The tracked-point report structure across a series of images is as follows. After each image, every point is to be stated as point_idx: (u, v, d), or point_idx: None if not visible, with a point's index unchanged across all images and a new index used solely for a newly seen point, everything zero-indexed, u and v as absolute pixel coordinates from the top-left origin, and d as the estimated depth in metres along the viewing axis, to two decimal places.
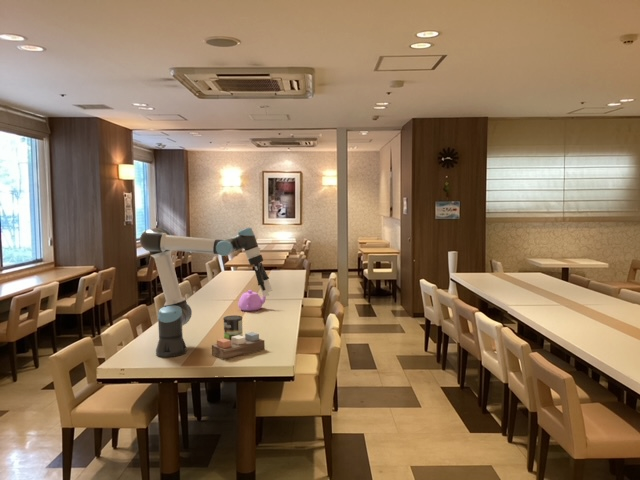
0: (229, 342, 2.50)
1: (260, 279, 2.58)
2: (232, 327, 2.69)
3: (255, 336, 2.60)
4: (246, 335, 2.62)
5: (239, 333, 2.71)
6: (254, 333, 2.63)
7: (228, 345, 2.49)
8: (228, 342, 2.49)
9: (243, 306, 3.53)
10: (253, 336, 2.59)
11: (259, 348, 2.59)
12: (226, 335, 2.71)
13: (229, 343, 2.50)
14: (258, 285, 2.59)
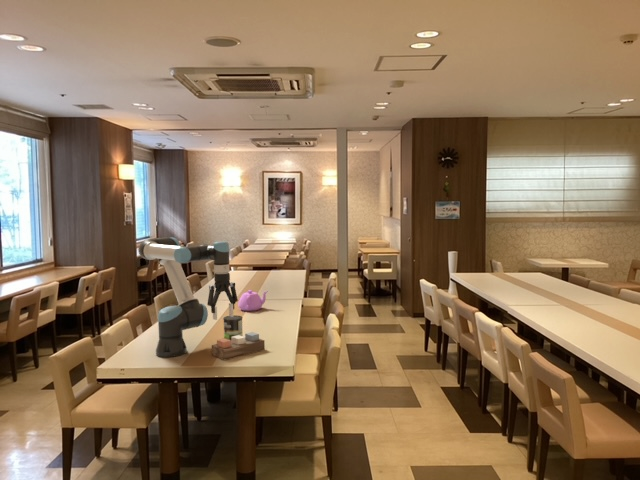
0: (229, 342, 2.50)
1: (209, 301, 2.44)
2: (232, 327, 2.69)
3: (255, 336, 2.60)
4: (246, 335, 2.62)
5: (239, 333, 2.71)
6: (254, 333, 2.63)
7: (228, 345, 2.49)
8: (228, 342, 2.49)
9: (243, 306, 3.53)
10: (253, 336, 2.59)
11: (259, 348, 2.59)
12: (226, 335, 2.71)
13: (229, 343, 2.50)
14: None
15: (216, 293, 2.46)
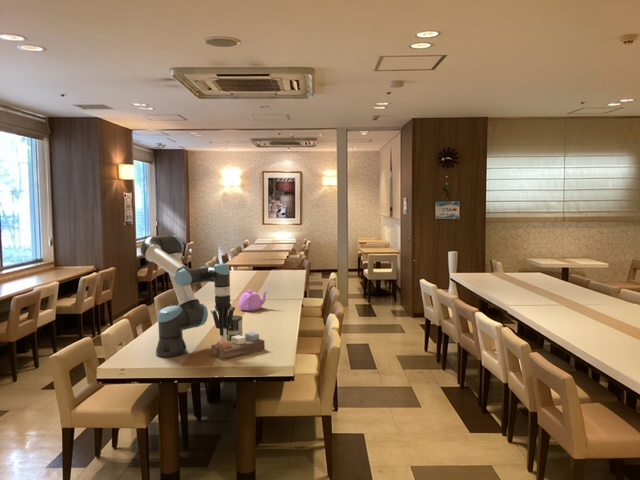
0: (229, 344, 2.50)
1: (217, 325, 2.47)
2: (232, 327, 2.69)
3: (255, 336, 2.60)
4: (246, 335, 2.62)
5: (239, 333, 2.71)
6: (254, 333, 2.63)
7: None
8: (228, 344, 2.49)
9: (243, 306, 3.53)
10: (253, 336, 2.59)
11: (259, 348, 2.59)
12: None
13: (229, 345, 2.50)
14: None
15: (220, 316, 2.48)
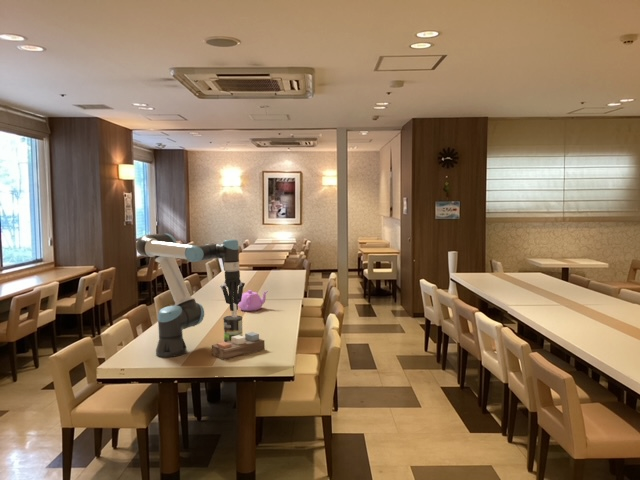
0: (229, 345, 2.50)
1: (226, 300, 2.50)
2: (232, 327, 2.69)
3: (255, 336, 2.60)
4: (246, 335, 2.62)
5: (239, 333, 2.71)
6: (254, 333, 2.63)
7: None
8: (228, 345, 2.49)
9: (243, 306, 3.53)
10: (253, 336, 2.59)
11: (259, 348, 2.59)
12: (226, 335, 2.71)
13: (229, 346, 2.50)
14: None
15: (229, 291, 2.51)
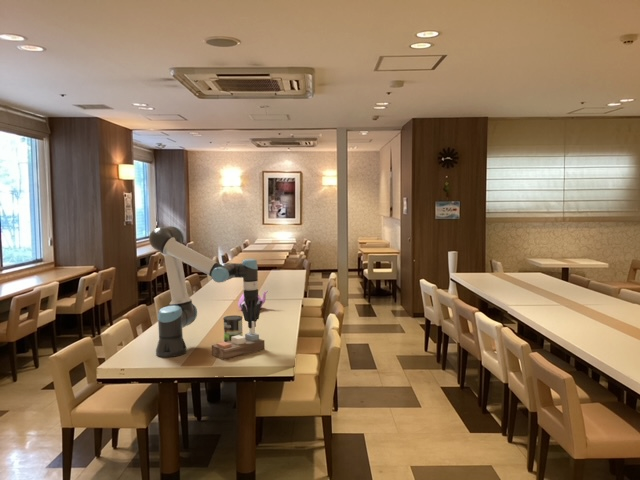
0: (229, 345, 2.50)
1: (245, 318, 2.58)
2: (232, 327, 2.69)
3: (255, 337, 2.60)
4: (246, 335, 2.62)
5: (239, 333, 2.71)
6: None
7: None
8: (228, 345, 2.49)
9: None
10: (253, 336, 2.59)
11: (259, 348, 2.59)
12: (226, 335, 2.71)
13: (229, 346, 2.50)
14: None
15: (248, 309, 2.60)
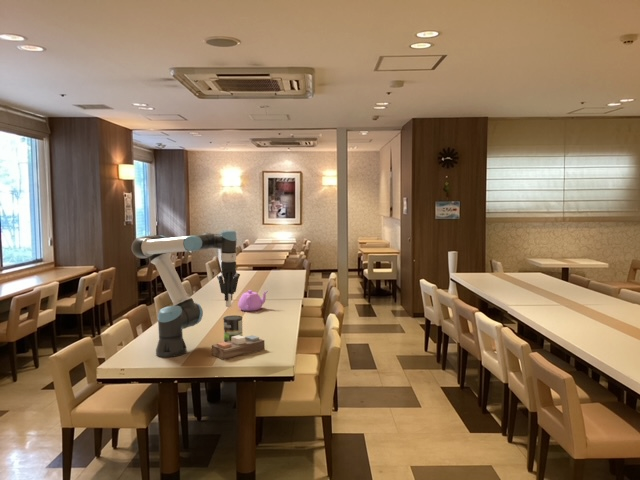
0: (229, 345, 2.50)
1: (222, 290, 2.53)
2: (232, 327, 2.69)
3: (255, 340, 2.60)
4: (246, 338, 2.62)
5: (239, 333, 2.71)
6: (254, 336, 2.63)
7: None
8: (228, 345, 2.49)
9: (243, 306, 3.53)
10: (253, 339, 2.59)
11: (259, 348, 2.59)
12: (226, 335, 2.71)
13: (229, 346, 2.50)
14: None
15: (225, 281, 2.54)
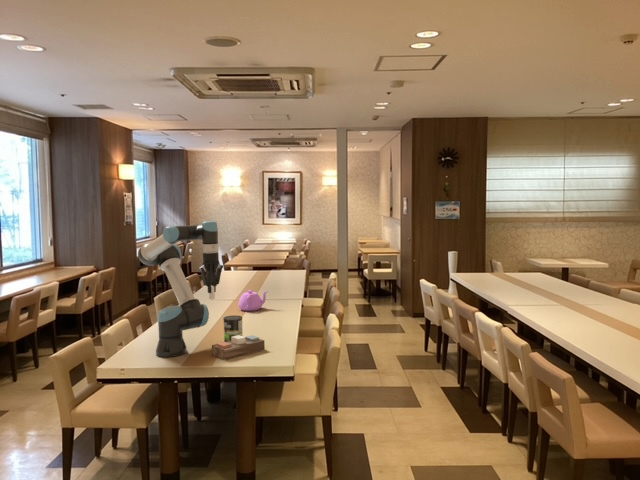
0: (229, 345, 2.50)
1: (204, 282, 2.48)
2: (232, 327, 2.69)
3: (255, 340, 2.60)
4: (246, 338, 2.62)
5: (239, 333, 2.71)
6: (254, 336, 2.63)
7: None
8: (228, 345, 2.49)
9: (243, 306, 3.53)
10: (253, 339, 2.59)
11: (259, 348, 2.59)
12: (226, 335, 2.71)
13: (229, 346, 2.50)
14: None
15: (208, 273, 2.49)
